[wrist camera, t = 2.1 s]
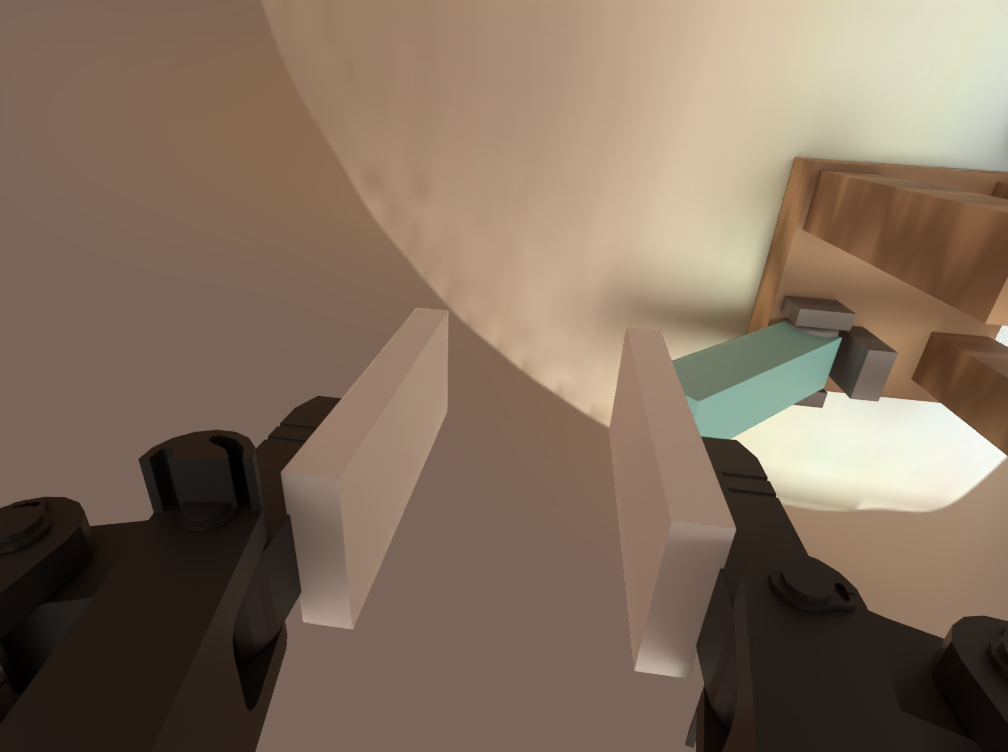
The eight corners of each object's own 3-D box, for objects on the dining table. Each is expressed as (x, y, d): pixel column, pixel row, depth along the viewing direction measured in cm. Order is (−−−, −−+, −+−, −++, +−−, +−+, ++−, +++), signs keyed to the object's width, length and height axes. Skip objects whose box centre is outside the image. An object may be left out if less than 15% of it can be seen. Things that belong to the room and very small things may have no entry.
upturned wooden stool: (794, 157, 32) (1026, 204, 16) (1030, 173, 31) (1548, 242, 15) (738, 364, 38) (862, 557, 22) (934, 383, 37) (1224, 602, 20)
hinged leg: (797, 314, 34) (638, 370, 25) (852, 331, 31) (699, 399, 23) (782, 364, 35) (626, 434, 26) (833, 383, 33) (682, 466, 24)
